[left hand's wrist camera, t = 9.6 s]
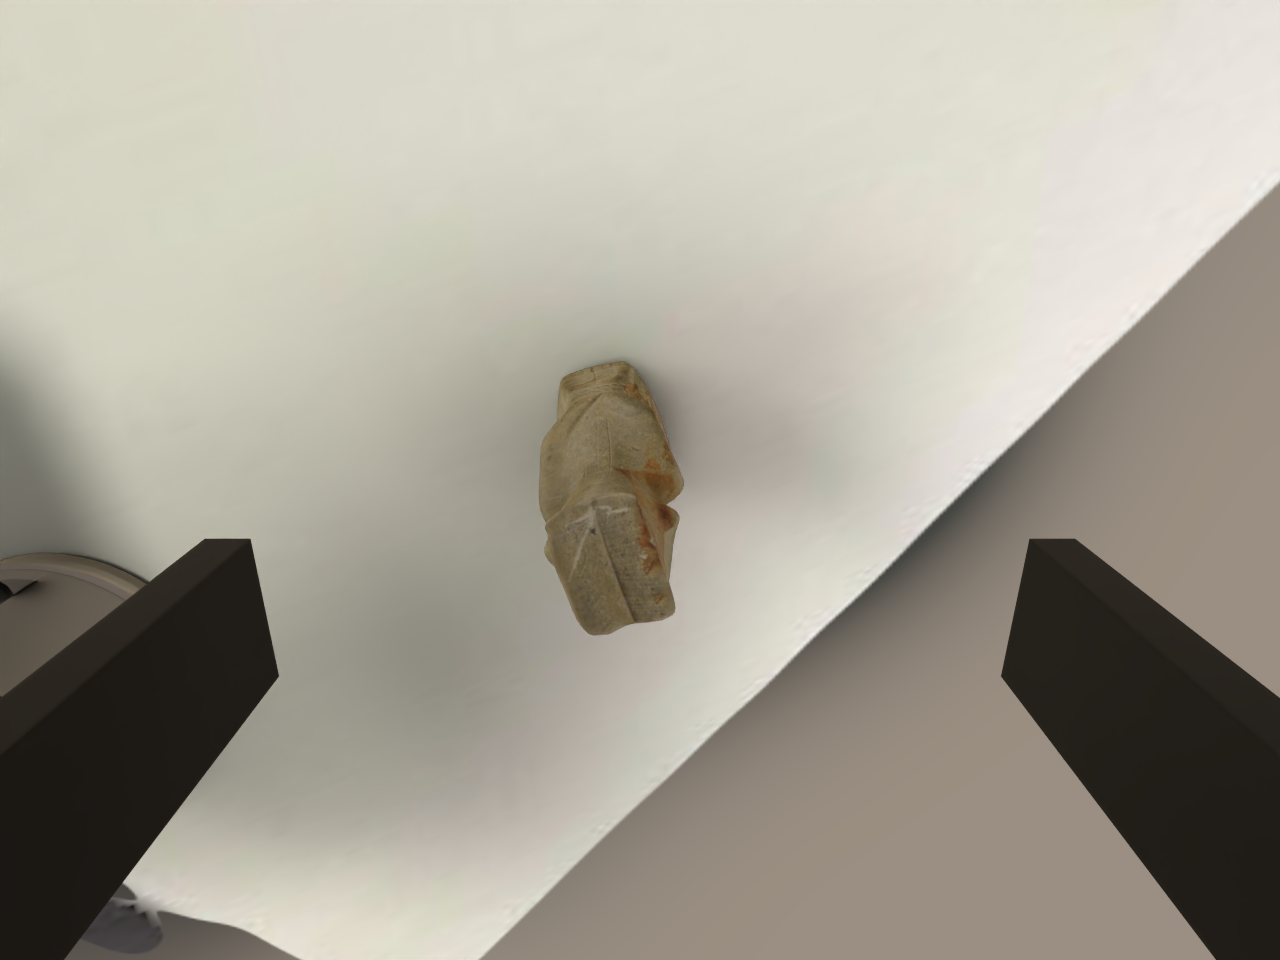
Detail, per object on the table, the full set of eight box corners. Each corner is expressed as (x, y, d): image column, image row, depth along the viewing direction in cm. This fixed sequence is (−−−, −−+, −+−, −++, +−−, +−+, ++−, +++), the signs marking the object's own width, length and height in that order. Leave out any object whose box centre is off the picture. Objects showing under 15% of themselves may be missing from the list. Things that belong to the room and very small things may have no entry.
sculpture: (577, 497, 39) (543, 664, 25) (543, 366, 37) (483, 469, 23) (685, 475, 39) (711, 633, 25) (658, 341, 36) (670, 431, 22)
